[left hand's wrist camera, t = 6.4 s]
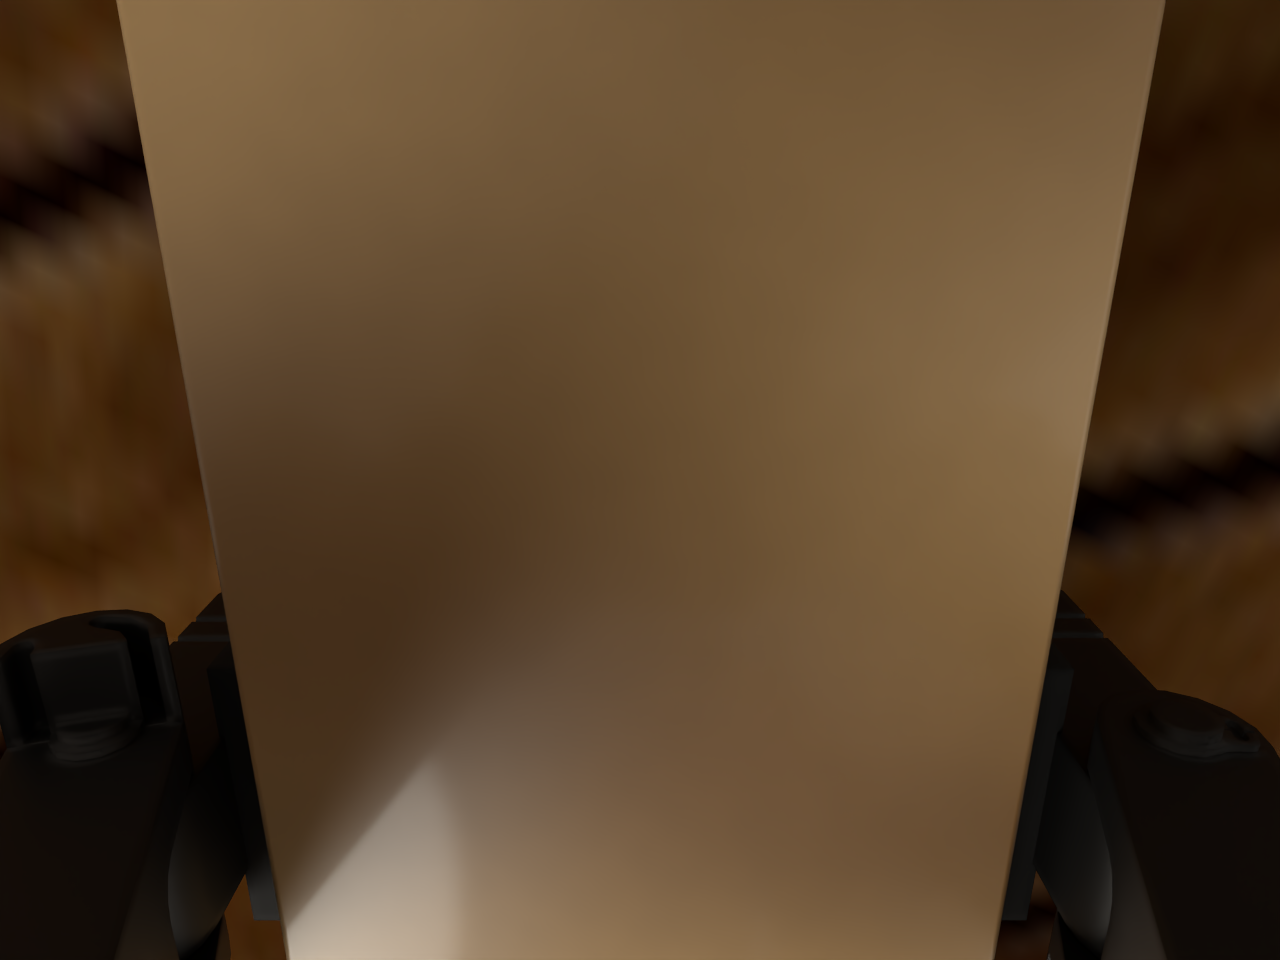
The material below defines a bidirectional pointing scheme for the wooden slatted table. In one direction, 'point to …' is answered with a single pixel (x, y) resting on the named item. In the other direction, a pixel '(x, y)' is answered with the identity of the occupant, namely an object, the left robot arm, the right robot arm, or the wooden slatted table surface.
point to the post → (640, 448)
